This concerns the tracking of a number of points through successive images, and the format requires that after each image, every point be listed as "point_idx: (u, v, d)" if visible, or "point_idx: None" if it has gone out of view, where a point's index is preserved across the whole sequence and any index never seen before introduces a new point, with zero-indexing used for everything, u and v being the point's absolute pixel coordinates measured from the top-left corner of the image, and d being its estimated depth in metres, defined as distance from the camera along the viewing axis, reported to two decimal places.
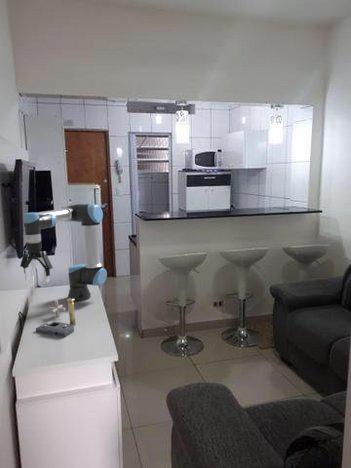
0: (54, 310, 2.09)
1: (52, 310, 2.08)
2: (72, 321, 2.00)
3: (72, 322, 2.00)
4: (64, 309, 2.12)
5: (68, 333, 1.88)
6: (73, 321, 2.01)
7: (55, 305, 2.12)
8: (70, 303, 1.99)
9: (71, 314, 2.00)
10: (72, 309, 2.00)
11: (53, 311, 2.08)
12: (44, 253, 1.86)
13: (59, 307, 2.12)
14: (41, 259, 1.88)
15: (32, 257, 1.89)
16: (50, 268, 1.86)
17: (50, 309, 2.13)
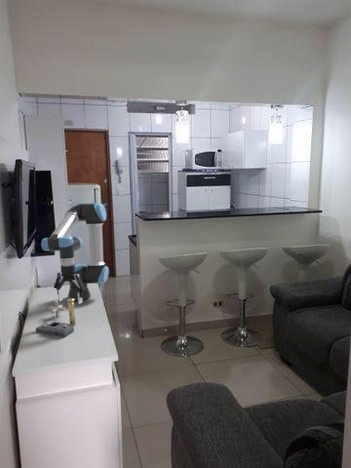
0: (54, 310, 2.09)
1: (52, 310, 2.08)
2: (72, 321, 2.00)
3: (72, 322, 2.00)
4: (64, 309, 2.12)
5: (68, 333, 1.88)
6: (73, 321, 2.01)
7: (55, 305, 2.12)
8: (70, 303, 1.99)
9: (71, 314, 2.00)
10: (72, 309, 2.00)
11: (53, 311, 2.08)
12: (78, 276, 1.94)
13: (59, 307, 2.12)
14: (75, 281, 1.96)
15: (66, 279, 1.97)
16: (83, 290, 1.94)
17: (50, 309, 2.13)
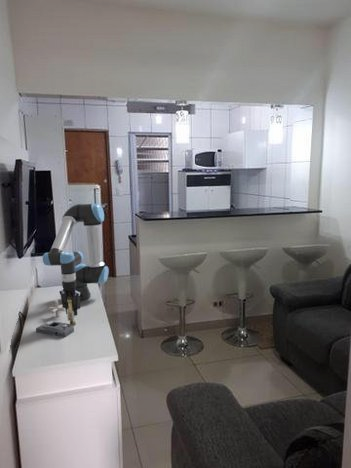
0: (54, 310, 2.09)
1: (52, 310, 2.08)
2: (72, 321, 2.00)
3: (72, 322, 2.00)
4: (64, 309, 2.12)
5: (68, 333, 1.88)
6: None
7: (55, 305, 2.12)
8: (70, 303, 1.99)
9: (71, 314, 2.00)
10: (72, 309, 2.00)
11: (53, 311, 2.08)
12: (79, 295, 1.96)
13: (59, 307, 2.12)
14: (73, 298, 1.98)
15: (67, 294, 1.99)
16: (78, 308, 1.98)
17: (50, 309, 2.13)
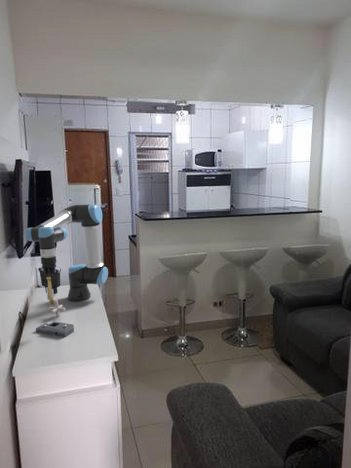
0: (54, 310, 2.09)
1: (52, 310, 2.08)
2: (52, 300, 1.89)
3: (52, 301, 1.89)
4: (64, 309, 2.12)
5: (68, 333, 1.88)
6: (53, 300, 1.89)
7: (55, 305, 2.12)
8: (49, 281, 1.87)
9: (51, 292, 1.88)
10: (52, 287, 1.88)
11: (53, 311, 2.08)
12: (58, 271, 1.85)
13: (59, 307, 2.12)
14: (53, 275, 1.87)
15: (46, 271, 1.87)
16: (58, 286, 1.87)
17: (50, 309, 2.13)
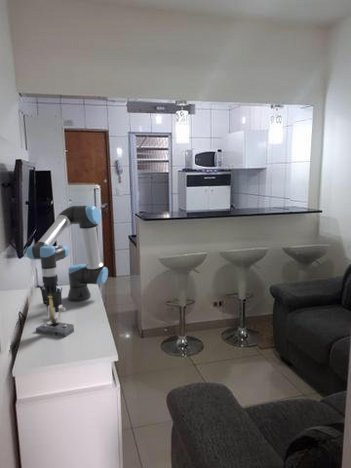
0: None
1: None
2: (53, 318, 1.91)
3: (53, 319, 1.91)
4: (64, 309, 2.12)
5: (68, 333, 1.88)
6: None
7: None
8: (51, 299, 1.89)
9: (52, 311, 1.90)
10: None
11: None
12: (60, 290, 1.87)
13: (59, 307, 2.12)
14: (54, 294, 1.89)
15: (48, 290, 1.89)
16: None
17: None
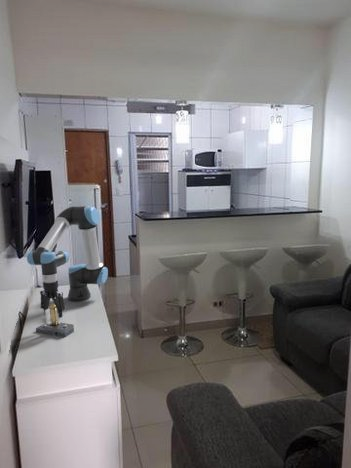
0: None
1: None
2: None
3: None
4: None
5: (68, 333, 1.88)
6: None
7: None
8: (52, 309, 1.90)
9: (53, 321, 1.91)
10: (55, 316, 1.91)
11: None
12: (61, 295, 1.87)
13: None
14: (56, 300, 1.89)
15: (48, 296, 1.89)
16: (63, 310, 1.88)
17: (50, 309, 2.13)
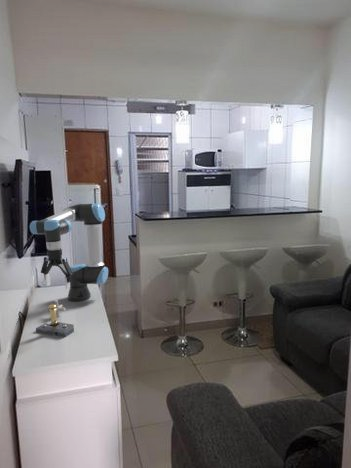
0: None
1: None
2: None
3: None
4: (64, 309, 2.12)
5: (68, 333, 1.88)
6: None
7: None
8: (52, 310, 1.89)
9: (53, 321, 1.91)
10: (54, 316, 1.91)
11: None
12: (65, 260, 1.88)
13: (59, 307, 2.12)
14: (62, 266, 1.89)
15: (53, 264, 1.91)
16: (71, 275, 1.88)
17: None
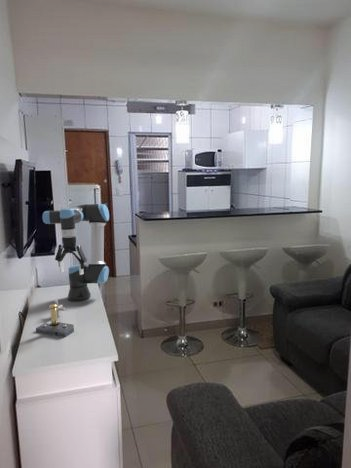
0: None
1: None
2: None
3: None
4: (64, 309, 2.12)
5: (68, 333, 1.88)
6: None
7: None
8: (52, 309, 1.90)
9: (53, 321, 1.91)
10: (55, 315, 1.91)
11: None
12: (79, 247, 1.96)
13: (59, 307, 2.12)
14: (76, 253, 1.97)
15: (67, 251, 1.99)
16: (85, 261, 1.96)
17: (50, 309, 2.13)
